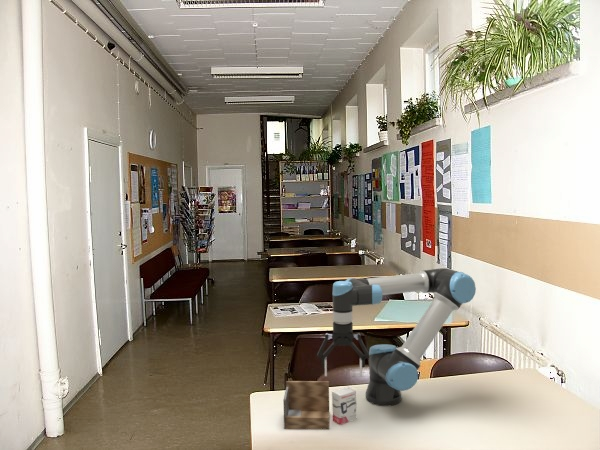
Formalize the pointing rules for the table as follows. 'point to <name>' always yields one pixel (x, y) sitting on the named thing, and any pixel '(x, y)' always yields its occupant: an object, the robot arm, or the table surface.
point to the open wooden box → (306, 405)
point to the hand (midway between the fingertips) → (343, 375)
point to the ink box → (344, 405)
